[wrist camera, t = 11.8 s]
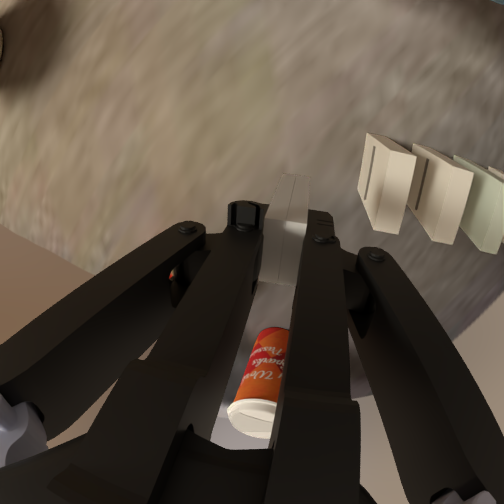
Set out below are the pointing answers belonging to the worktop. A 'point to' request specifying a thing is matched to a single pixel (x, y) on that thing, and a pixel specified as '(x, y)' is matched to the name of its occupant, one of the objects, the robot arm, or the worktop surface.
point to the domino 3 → (483, 208)
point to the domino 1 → (385, 182)
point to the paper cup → (260, 385)
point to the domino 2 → (438, 193)
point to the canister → (1, 43)
